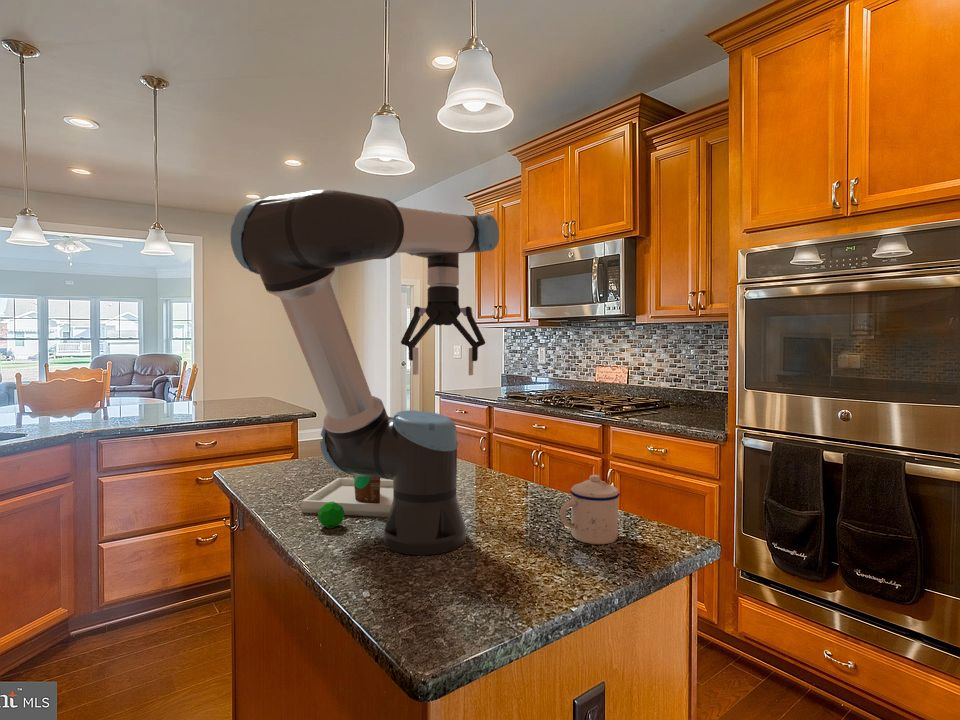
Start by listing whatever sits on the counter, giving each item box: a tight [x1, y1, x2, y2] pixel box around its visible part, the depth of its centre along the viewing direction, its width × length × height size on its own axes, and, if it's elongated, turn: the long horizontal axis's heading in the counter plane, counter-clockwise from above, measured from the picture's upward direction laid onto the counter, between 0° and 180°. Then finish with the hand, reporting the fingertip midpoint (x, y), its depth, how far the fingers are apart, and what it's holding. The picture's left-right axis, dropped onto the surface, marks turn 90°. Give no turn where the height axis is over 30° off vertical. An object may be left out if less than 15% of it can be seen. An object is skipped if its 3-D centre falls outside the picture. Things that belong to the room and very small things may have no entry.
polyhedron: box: [317, 502, 345, 529], centre depth 106 cm, size 5×5×5 cm
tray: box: [301, 477, 393, 518], centre depth 123 cm, size 20×20×2 cm
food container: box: [353, 475, 381, 504], centre depth 122 cm, size 12×6×10 cm, turn 17°
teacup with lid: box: [559, 474, 620, 545], centre depth 101 cm, size 12×9×12 cm
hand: (443, 374), depth 130 cm, fingers open, 13 cm apart
